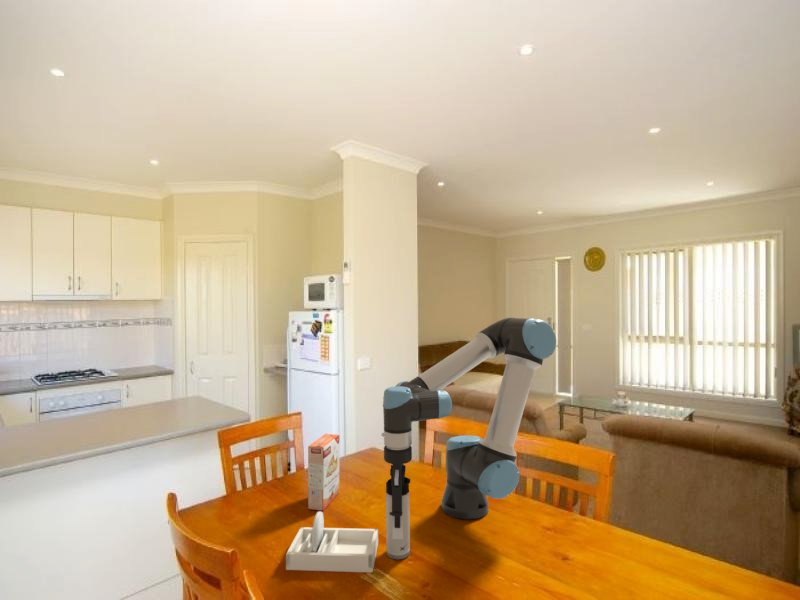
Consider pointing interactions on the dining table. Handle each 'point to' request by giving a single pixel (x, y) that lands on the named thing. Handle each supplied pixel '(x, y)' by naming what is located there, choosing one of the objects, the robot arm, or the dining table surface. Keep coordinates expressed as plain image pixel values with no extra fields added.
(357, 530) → the rack
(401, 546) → the travel mug
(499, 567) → the dining table surface
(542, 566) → the dining table surface
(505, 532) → the dining table surface
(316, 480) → the cracker box
